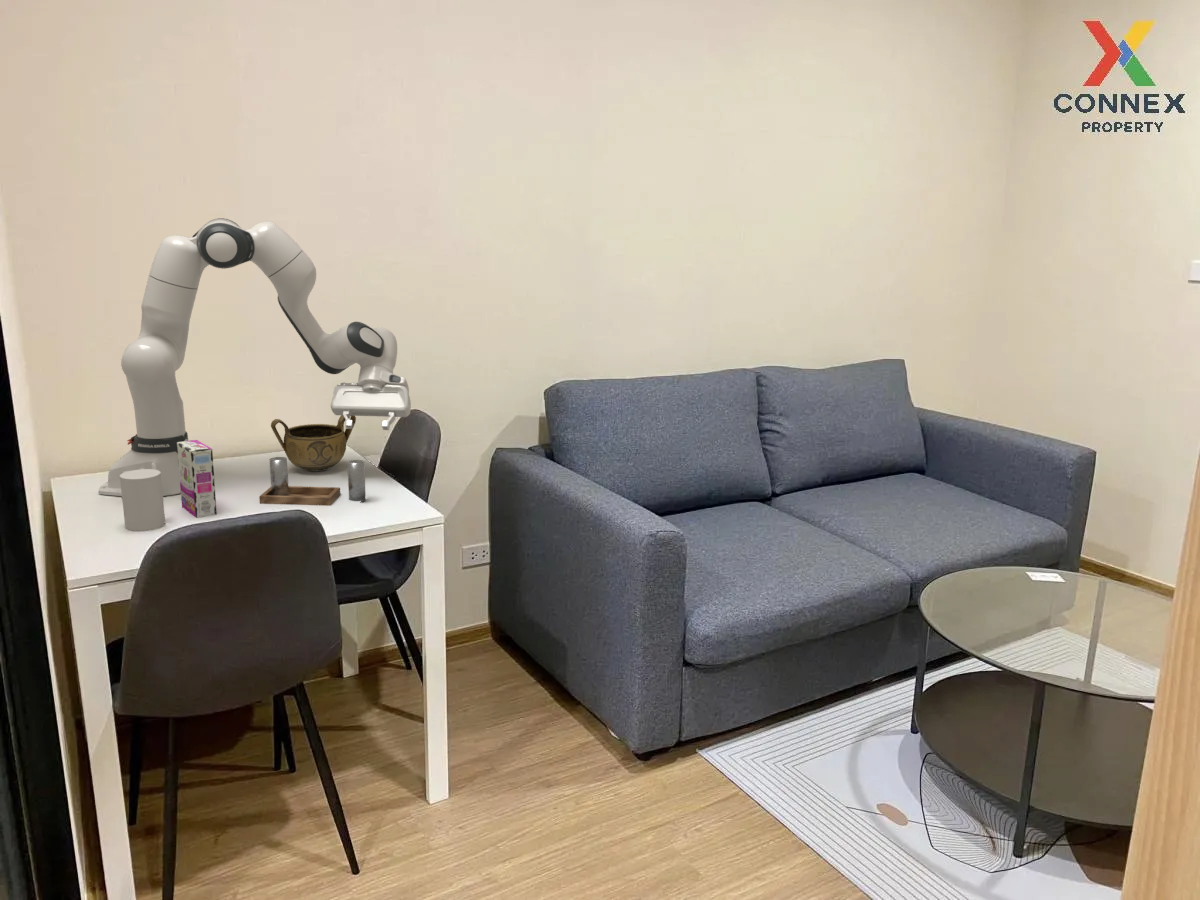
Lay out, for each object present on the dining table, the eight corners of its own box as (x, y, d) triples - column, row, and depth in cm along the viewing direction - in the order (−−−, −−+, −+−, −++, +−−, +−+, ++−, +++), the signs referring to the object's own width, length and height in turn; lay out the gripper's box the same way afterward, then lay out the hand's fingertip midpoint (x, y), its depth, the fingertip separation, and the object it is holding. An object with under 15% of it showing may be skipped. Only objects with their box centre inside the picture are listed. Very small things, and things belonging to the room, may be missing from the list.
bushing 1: (269, 500, 227) (267, 460, 225) (275, 495, 231) (272, 456, 229) (285, 500, 227) (283, 461, 225) (291, 496, 231) (289, 457, 229)
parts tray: (259, 505, 225) (259, 496, 224) (272, 494, 234) (272, 485, 233) (330, 507, 225) (329, 498, 224) (340, 496, 234) (340, 487, 233)
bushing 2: (347, 503, 229) (345, 463, 226) (351, 498, 233) (349, 459, 230) (363, 503, 229) (361, 464, 226) (367, 498, 233) (366, 460, 230)
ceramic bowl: (348, 457, 271) (346, 406, 267) (365, 471, 256) (363, 418, 253) (268, 465, 259) (265, 413, 256) (282, 481, 245) (278, 425, 242)
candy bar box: (218, 516, 217) (213, 448, 213) (196, 520, 213) (190, 451, 209) (202, 504, 225) (197, 438, 221) (181, 508, 222) (175, 441, 218)
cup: (171, 519, 214) (166, 469, 211) (156, 531, 206) (151, 479, 203) (135, 519, 213) (130, 468, 210) (118, 531, 205) (112, 478, 202)
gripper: (332, 375, 243) (323, 420, 236) (411, 378, 243) (404, 422, 236) (338, 389, 248) (329, 433, 241) (415, 391, 248) (408, 435, 241)
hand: (367, 428), depth 239 cm, fingers open, 8 cm apart
